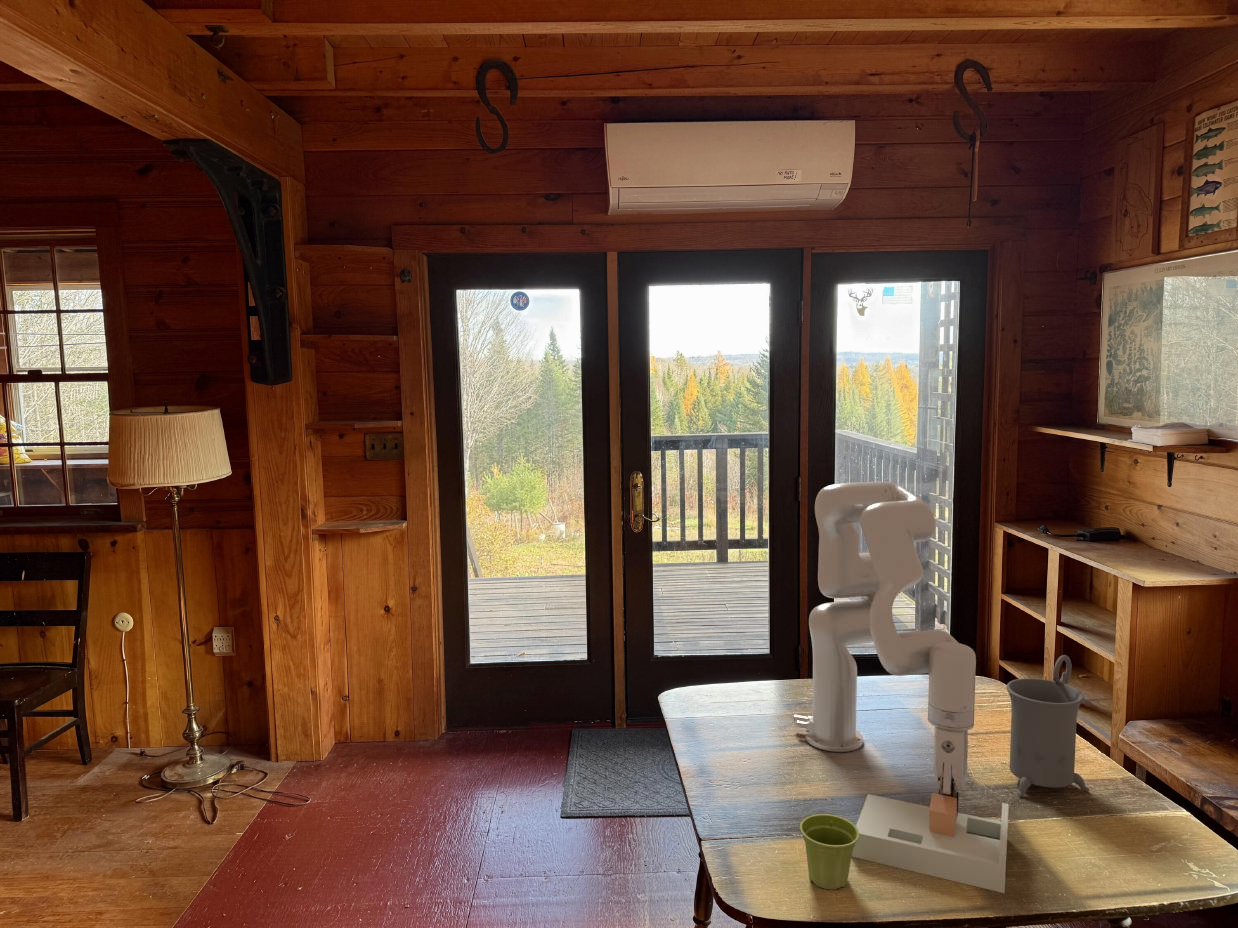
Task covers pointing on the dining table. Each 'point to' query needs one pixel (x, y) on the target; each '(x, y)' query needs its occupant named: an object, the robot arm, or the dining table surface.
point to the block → (943, 814)
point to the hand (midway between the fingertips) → (948, 813)
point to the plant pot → (829, 849)
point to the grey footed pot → (1044, 730)
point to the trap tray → (933, 843)
